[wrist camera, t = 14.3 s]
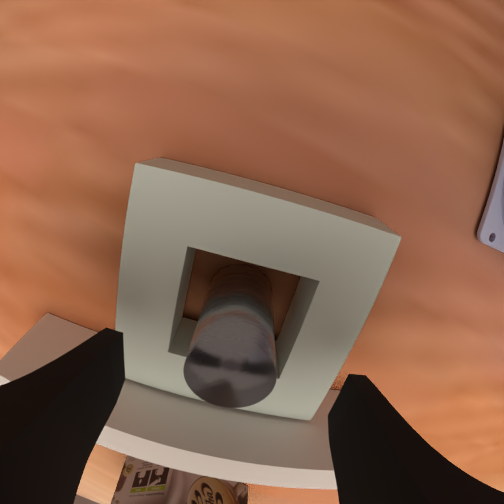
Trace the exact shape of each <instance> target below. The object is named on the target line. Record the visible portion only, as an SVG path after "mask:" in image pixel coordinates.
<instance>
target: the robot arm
mask: <svg viewBox="0 0 504 504" xmlns="http://www.w3.org/2000/svg"><path fill="white" fill-rule="evenodd" d="M490 234H492V235H491V238H490V239H489V236H490ZM477 239H478V240H479V241H480V242H482V243H483V244H486V245H488V246H490V247H492V248H494V249H497V250H499V251H501V252H503V253H504V140H503V145H502V149H501V154H500V158H499V162H498V166H497V170H496V174H495V177H494V181H493V184H492V188H491V191H490V194H489V198H488V201H487V204H486V207H485V210H484V213H483V216H482V219H481V222H480V225H479V228H478V230H477ZM124 381H125V364H124V340H123V332H119V331H116V330H112V329H109V328H105V329H103V330H102V331H100V332H98V333H97V334H95V335H94V336H92V337H90V338H89V339H87V340H86V341H84V342H83V343H81V344H80V345H78V346H76V347H75V348H73V349H72V350H70V351H68V352H67V353H65V354H63V355H62V356H60V357H59V358H57V359H55V360H53V361H51V362H50V363H48V364H46V365H44V366H42V367H40V368H39V369H37V370H35V371H33V372H31V373H29V374H27V375H25V376H23V377H20V378H18V379H16V380H13V381H11V382H8V383H6V384H3V385H1V386H0V504H73V503H74V499H75V496H76V493H77V489H78V486H79V483H80V480H81V477H82V474H83V471H84V468H85V465H86V463H87V460H88V458H89V456H90V454H91V452H92V450H93V448H94V446H95V444H96V442H97V440H98V438H99V436H100V434H101V432H102V430H103V428H104V426H105V424H106V423H107V421H108V419H109V417H110V415H111V413H112V411H113V409H114V407H115V405H116V403H117V400H118V398H119V395H120V392H121V390H122V387H123V384H124ZM328 435H329V445H330V451H331V457H332V462H333V468H334V473H335V478H336V484H337V490H338V496H339V504H504V492H501V491H499V490H496V489H494V488H492V487H490V486H488V485H486V484H484V483H482V482H480V481H479V480H477V479H475V478H473V477H472V476H470V475H469V474H467V473H465V472H464V471H462V470H461V469H460V468H458V467H457V466H455V465H454V464H452V463H451V462H450V461H448V460H447V459H446V458H445V457H443V456H442V455H441V454H440V453H439V452H437V451H436V450H435V449H434V448H433V447H431V446H430V445H429V444H428V443H427V442H426V441H425V440H424V439H423V438H422V437H421V436H420V435H419V434H418V433H417V432H416V431H415V430H414V429H413V428H412V427H411V426H410V425H409V424H408V423H407V422H406V421H405V420H404V418H403V417H402V416H401V415H400V414H399V413H398V412H397V411H396V409H395V408H394V407H393V406H392V405H391V404H390V403H389V401H388V400H387V399H386V398H385V397H384V396H383V394H382V393H381V392H380V391H379V390H378V389H377V387H376V386H375V385H374V384H373V383H372V382H371V381H370V380H369V379H368V378H367V376H366V375H354V374H349V375H348V377H347V379H346V381H345V383H344V385H343V387H342V389H341V391H340V393H339V395H338V397H337V398H336V400H335V402H334V404H333V406H332V408H331V410H330V412H329V414H328Z"/></svg>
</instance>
